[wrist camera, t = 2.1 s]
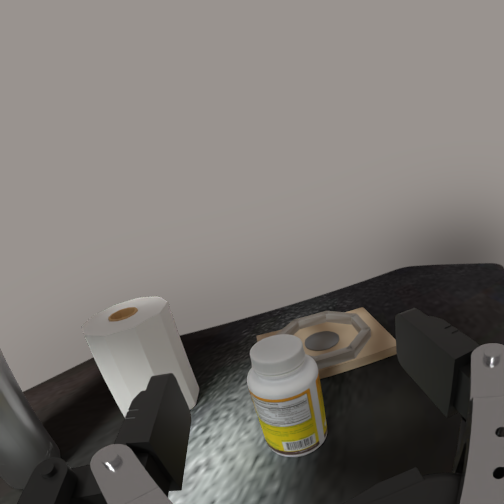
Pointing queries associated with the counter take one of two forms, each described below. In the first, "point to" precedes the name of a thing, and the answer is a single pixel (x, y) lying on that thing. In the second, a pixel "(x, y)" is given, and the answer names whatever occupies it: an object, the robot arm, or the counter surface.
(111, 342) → the toilet paper
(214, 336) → the counter surface
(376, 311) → the counter surface
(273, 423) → the supplement bottle
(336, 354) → the seat plate
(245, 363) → the counter surface
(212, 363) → the counter surface
